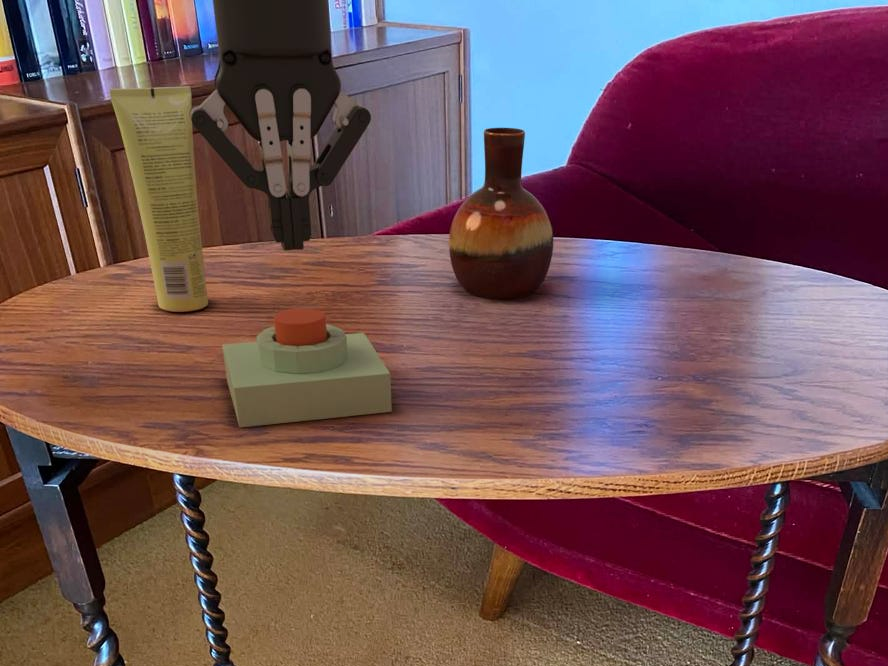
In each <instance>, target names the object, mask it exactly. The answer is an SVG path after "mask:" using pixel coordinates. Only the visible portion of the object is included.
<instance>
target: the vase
mask: <svg viewBox="0 0 888 666" xmlns="http://www.w3.org/2000/svg"><path fill="white" fill-rule="evenodd" d="M525 138H526V131H525V130H523V129H520V128H515V127H490V128H486V129H484V130H483V150H484V182H483V186H482V187H480V188H479V189H477V190H475V191H474V192H472V193H471V194H470V195H468V197H467V198H466V199H465V200H464V201H463V202H462V203H461V205H460V206H459V207H458V209H457V211H456V213H455V215H454V217H453V219H452V222H451V225H450V229H449V236H448V252H449V259H450V263H451V268H452V271H453V274H454V276H455V278H456V280H457V282H458V283H459V285H460V286H461V288H462V289H463V290H465V291H466V292H467V293H468V294H470V295H473V296H475V297H479V298H484V299H491V300H513V299H520V298H524V297H528V296H530V295H532V294H534V293H535V292H536V291H537V290H538V289H539V288H540V287H541V285H542V284H543V282H544V281H545V279H546V277H547V275H548V272H549V269H550V266H551V263H552V258H553V252H554V231H553V226H552V223H551V220H550V217H549V215H548V213H547V211H546V209H545V207H544V206H543V205H542V203H541V202H540V201H539V199H537V198H536V197H535V196H534V195H533V194H532V193H531V192H530V191H528V190H526V189H525V188H524V187H523V184H522V170H523V160H524V159H523V157H524V149H525Z"/></svg>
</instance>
